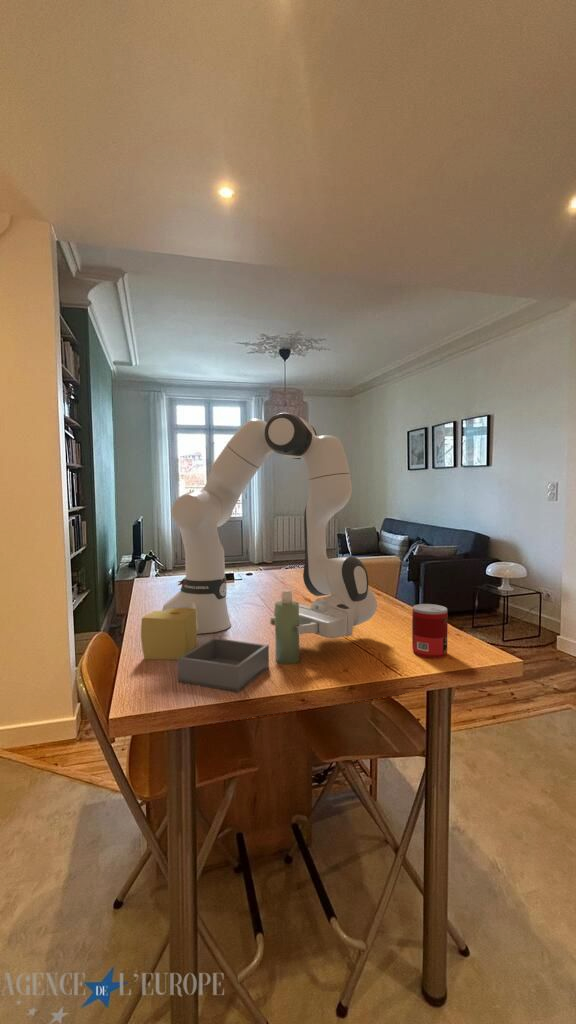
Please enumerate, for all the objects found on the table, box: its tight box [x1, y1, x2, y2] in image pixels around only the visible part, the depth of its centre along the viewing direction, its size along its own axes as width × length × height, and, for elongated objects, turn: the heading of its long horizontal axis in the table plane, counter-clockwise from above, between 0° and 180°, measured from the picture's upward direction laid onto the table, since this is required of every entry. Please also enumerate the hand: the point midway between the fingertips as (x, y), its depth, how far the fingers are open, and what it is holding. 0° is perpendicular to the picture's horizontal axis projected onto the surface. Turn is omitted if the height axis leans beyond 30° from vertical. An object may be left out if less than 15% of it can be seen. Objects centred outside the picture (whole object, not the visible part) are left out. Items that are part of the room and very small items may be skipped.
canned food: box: [411, 603, 449, 659], centre depth 113 cm, size 8×8×11 cm
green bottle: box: [274, 589, 300, 665], centre depth 109 cm, size 6×6×16 cm
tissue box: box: [140, 608, 198, 661], centre depth 114 cm, size 10×11×10 cm
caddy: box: [177, 637, 270, 693], centre depth 101 cm, size 14×14×5 cm
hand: (284, 625), depth 109 cm, fingers open, 7 cm apart
